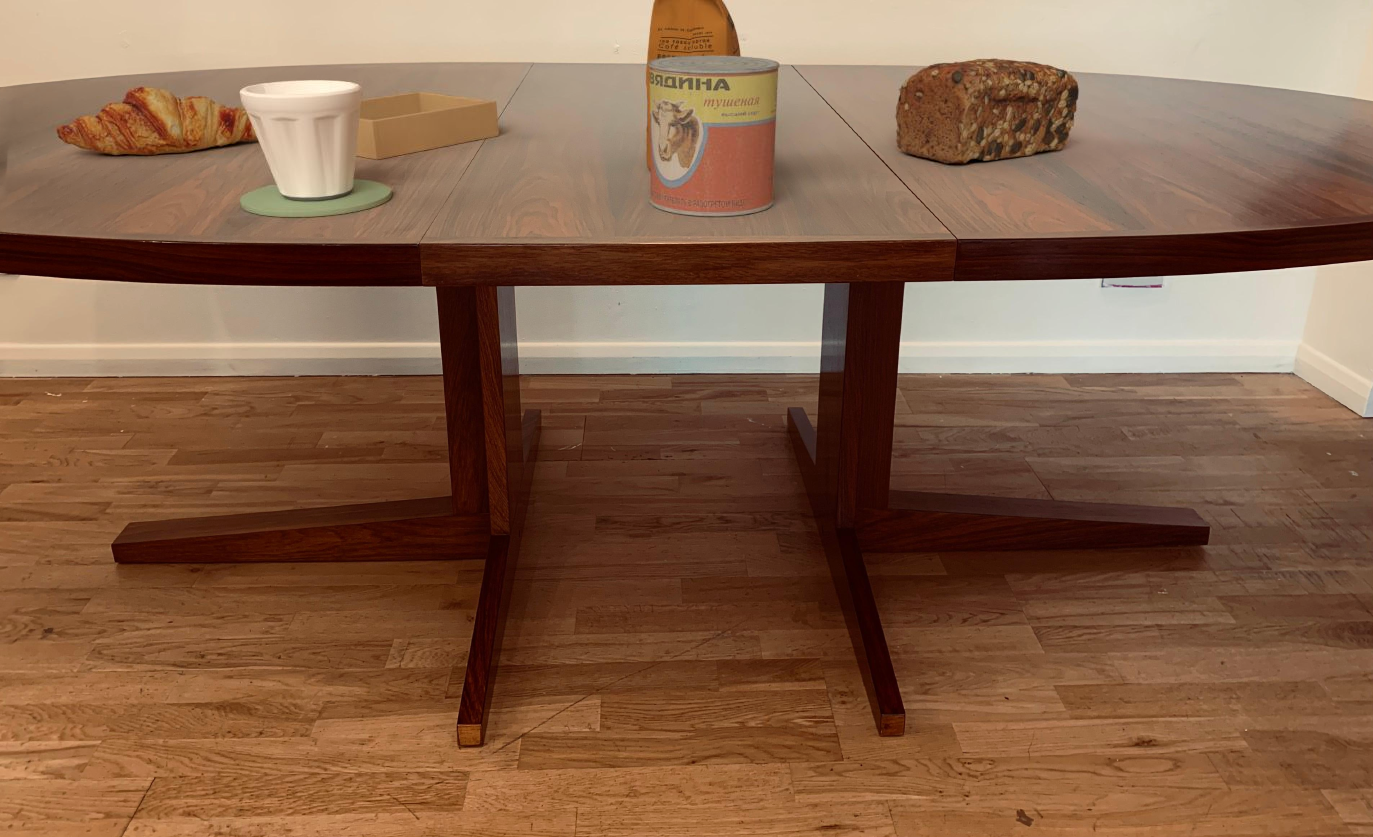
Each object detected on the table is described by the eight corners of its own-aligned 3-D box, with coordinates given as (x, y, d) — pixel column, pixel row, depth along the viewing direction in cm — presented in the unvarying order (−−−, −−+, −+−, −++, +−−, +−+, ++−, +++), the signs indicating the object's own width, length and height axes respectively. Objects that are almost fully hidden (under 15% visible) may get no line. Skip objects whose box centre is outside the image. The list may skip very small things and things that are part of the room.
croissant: (271, 165, 121) (257, 100, 121) (279, 137, 112) (263, 66, 112) (68, 179, 112) (52, 109, 112) (59, 149, 103) (42, 72, 103)
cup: (320, 212, 86) (303, 98, 82) (233, 199, 89) (212, 90, 85) (397, 188, 94) (385, 83, 90) (314, 177, 98) (299, 77, 94)
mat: (210, 202, 90) (209, 197, 90) (332, 177, 100) (332, 172, 100) (299, 225, 84) (298, 219, 83) (421, 196, 93) (420, 190, 93)
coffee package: (751, 154, 112) (758, -66, 102) (729, 178, 101) (735, -66, 91) (664, 150, 114) (663, -67, 104) (633, 172, 103) (629, -67, 94)
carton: (299, 145, 115) (293, 109, 114) (422, 124, 129) (419, 91, 127) (376, 159, 108) (372, 121, 106) (499, 135, 122) (496, 101, 120)
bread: (957, 169, 106) (969, 68, 101) (887, 152, 114) (895, 58, 109) (1074, 151, 115) (1090, 58, 110) (1001, 136, 123) (1013, 49, 119)
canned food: (623, 201, 92) (621, 62, 86) (704, 182, 99) (706, 52, 94) (719, 223, 85) (722, 73, 80) (798, 200, 93) (805, 62, 87)
